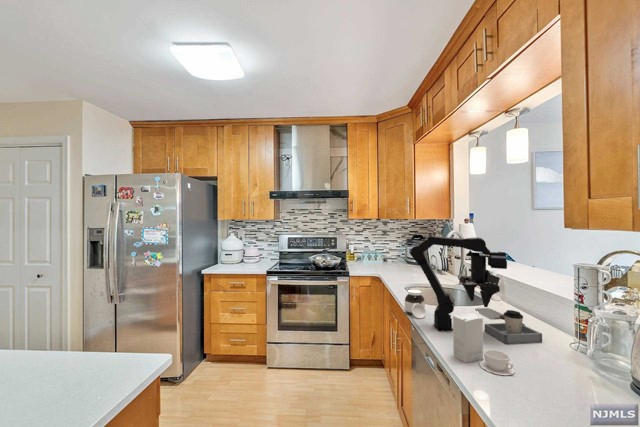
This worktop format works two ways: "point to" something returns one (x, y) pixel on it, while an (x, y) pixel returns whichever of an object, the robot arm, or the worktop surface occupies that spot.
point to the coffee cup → (513, 322)
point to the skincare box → (468, 337)
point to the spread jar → (415, 304)
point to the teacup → (497, 362)
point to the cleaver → (491, 313)
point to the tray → (525, 337)
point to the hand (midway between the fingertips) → (478, 303)
